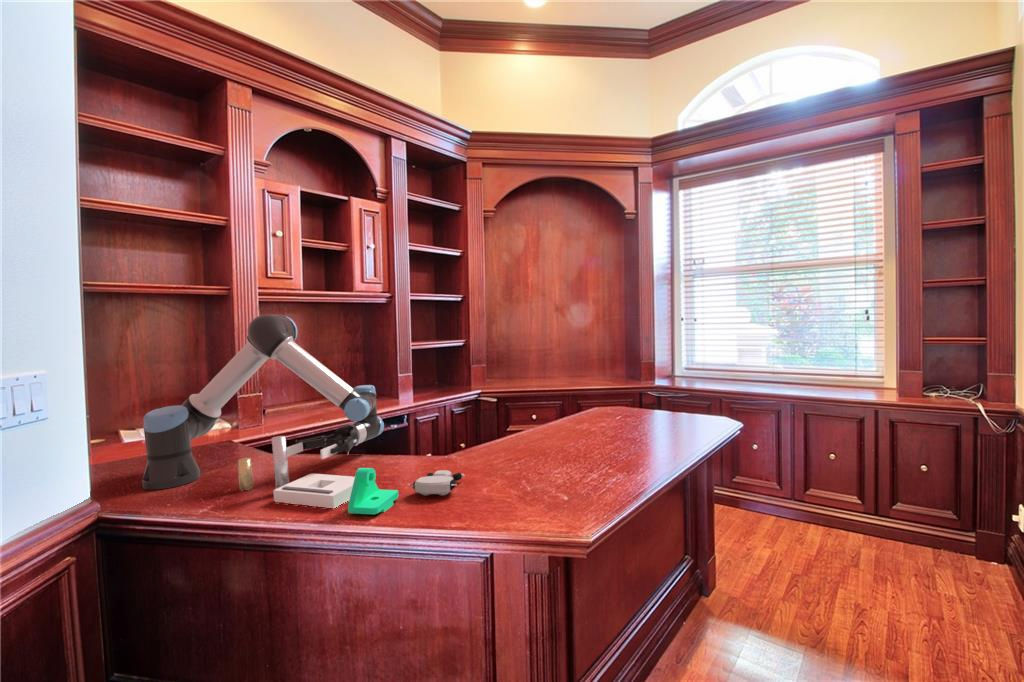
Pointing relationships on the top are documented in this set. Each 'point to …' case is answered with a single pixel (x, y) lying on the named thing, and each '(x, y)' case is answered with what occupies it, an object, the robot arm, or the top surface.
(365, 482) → the camera mount
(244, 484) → the short pin
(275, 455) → the long pin
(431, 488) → the robot toy
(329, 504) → the hole plate
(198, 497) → the top surface
